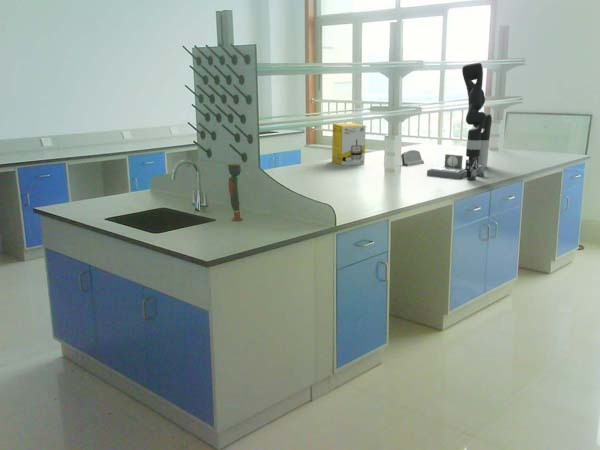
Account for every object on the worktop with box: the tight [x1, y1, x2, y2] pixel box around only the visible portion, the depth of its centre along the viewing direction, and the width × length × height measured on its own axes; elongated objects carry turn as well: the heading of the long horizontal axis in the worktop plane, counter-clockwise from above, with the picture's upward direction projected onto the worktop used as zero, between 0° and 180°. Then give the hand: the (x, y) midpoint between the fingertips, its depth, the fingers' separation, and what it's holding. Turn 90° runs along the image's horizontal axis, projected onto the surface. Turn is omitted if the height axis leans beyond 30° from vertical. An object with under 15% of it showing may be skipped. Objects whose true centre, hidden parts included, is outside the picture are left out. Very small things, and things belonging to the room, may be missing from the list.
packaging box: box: [331, 122, 366, 166], centre depth 394 cm, size 16×16×25 cm
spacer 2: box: [476, 165, 486, 178], centre depth 351 cm, size 5×5×6 cm
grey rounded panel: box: [400, 149, 425, 167], centre depth 393 cm, size 17×5×10 cm, turn 129°
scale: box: [426, 153, 467, 180], centre depth 353 cm, size 16×20×11 cm
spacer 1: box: [466, 169, 477, 182], centre depth 340 cm, size 5×5×6 cm
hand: (471, 176), depth 341 cm, fingers open, 8 cm apart
